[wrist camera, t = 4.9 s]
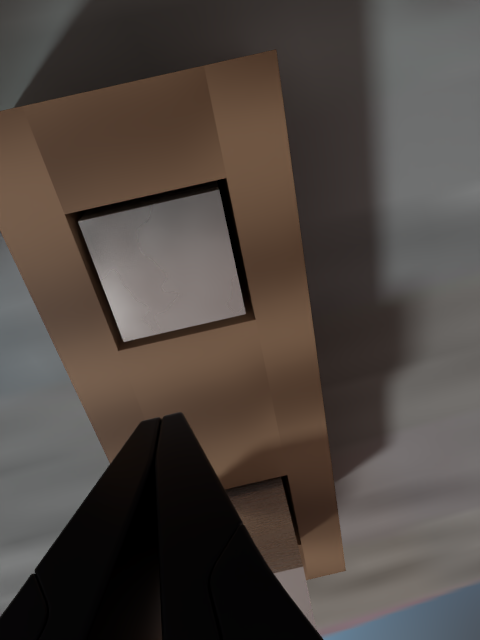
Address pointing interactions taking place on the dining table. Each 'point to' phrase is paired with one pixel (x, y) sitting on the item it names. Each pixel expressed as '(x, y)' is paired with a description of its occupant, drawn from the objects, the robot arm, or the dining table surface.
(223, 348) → the housing
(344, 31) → the dining table surface
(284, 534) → the peg
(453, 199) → the dining table surface
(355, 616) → the dining table surface
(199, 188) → the peg
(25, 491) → the dining table surface
